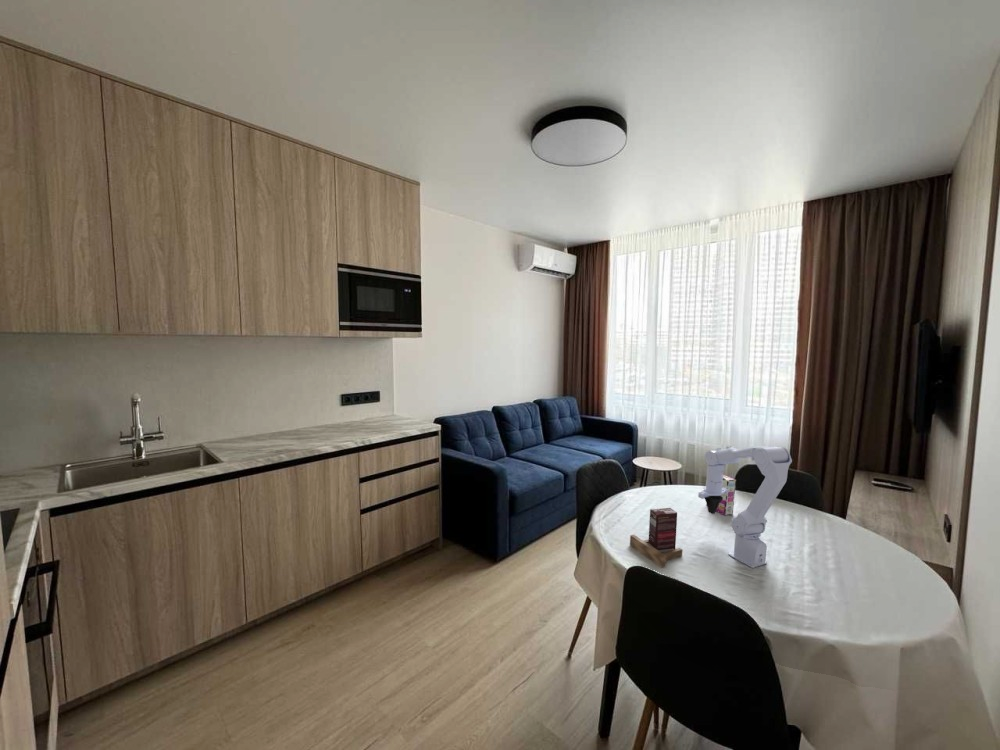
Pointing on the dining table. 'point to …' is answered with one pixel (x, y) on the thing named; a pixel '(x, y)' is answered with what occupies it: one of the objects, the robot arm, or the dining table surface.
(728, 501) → the candy bar box
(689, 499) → the dining table surface
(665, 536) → the supplement box
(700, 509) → the dining table surface
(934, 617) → the dining table surface
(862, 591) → the dining table surface
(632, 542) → the end holder
